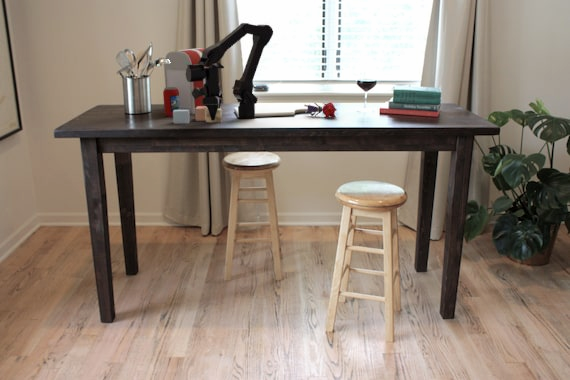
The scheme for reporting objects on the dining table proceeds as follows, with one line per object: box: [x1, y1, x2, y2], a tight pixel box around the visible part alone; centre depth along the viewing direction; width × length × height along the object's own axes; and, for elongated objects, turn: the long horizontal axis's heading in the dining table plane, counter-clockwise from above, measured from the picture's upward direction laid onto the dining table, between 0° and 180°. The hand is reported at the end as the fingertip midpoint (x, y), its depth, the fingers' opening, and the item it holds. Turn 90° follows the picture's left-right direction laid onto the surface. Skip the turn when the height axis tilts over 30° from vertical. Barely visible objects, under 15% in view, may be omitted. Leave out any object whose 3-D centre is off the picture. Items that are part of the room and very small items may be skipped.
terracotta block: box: [194, 106, 207, 122], centre depth 256 cm, size 6×4×5 cm, turn 178°
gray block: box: [172, 110, 191, 124], centre depth 249 cm, size 6×4×5 cm, turn 88°
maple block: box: [205, 108, 223, 123], centre depth 251 cm, size 6×4×5 cm, turn 88°
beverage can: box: [162, 87, 180, 118], centre depth 264 cm, size 7×7×12 cm
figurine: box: [304, 102, 337, 119], centre depth 257 cm, size 6×8×15 cm
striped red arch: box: [163, 47, 216, 115], centre depth 277 cm, size 16×18×27 cm
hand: (214, 118), depth 251 cm, fingers open, 7 cm apart
